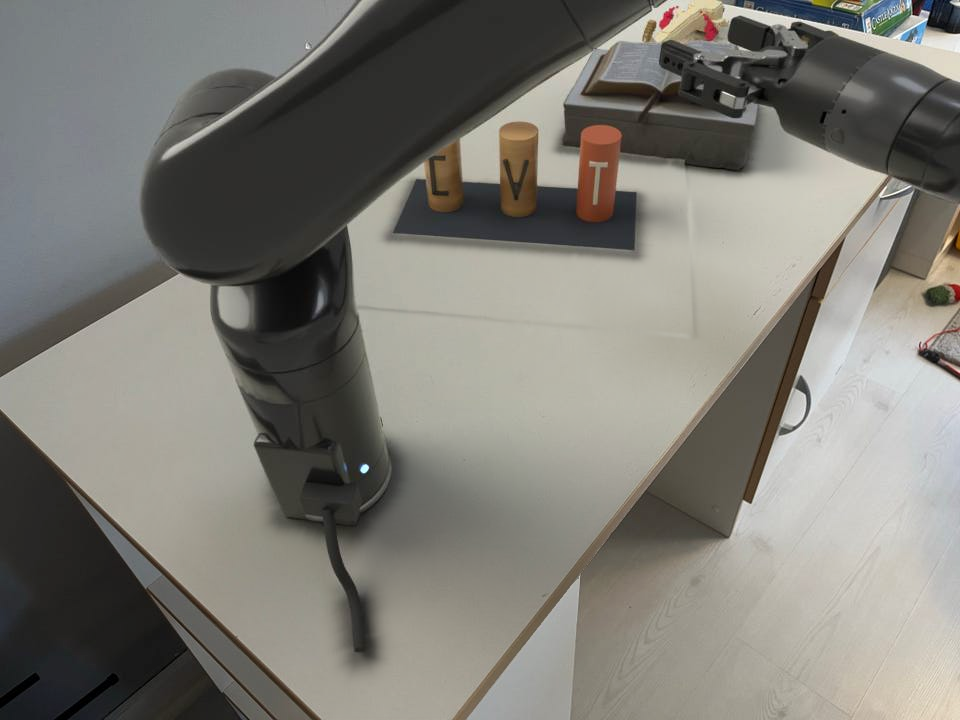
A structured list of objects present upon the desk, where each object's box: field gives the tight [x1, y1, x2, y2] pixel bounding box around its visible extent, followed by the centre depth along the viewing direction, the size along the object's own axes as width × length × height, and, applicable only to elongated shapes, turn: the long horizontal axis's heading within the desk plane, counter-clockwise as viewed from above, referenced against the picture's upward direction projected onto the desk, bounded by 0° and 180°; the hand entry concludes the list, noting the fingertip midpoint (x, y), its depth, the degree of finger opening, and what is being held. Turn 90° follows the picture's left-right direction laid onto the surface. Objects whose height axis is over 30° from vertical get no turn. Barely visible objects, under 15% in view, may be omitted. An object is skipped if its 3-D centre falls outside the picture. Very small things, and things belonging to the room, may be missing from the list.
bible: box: [561, 40, 760, 171], centre depth 97 cm, size 23×27×10 cm
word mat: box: [392, 178, 637, 251], centre depth 86 cm, size 12×28×1 cm, turn 80°
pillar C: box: [423, 138, 464, 212], centre depth 85 cm, size 4×4×10 cm
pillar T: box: [576, 125, 622, 222], centre depth 82 cm, size 5×4×10 cm
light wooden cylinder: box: [498, 121, 539, 217], centre depth 83 cm, size 5×4×10 cm
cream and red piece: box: [641, 0, 730, 43], centre depth 116 cm, size 10×9×25 cm
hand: (698, 39), depth 62 cm, fingers open, 8 cm apart
